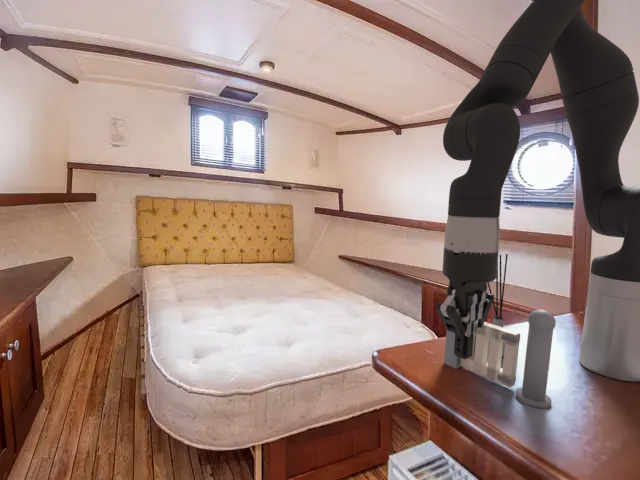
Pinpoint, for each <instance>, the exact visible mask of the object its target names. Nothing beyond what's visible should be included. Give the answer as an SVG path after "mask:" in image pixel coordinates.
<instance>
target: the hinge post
mask: <svg viewBox="0 0 640 480" xmlns="http://www.w3.org/2000/svg"><path fill="white" fill-rule="evenodd" d="M527 321H528V333H527V341H526V348H525V349H526V350H525V351H526V352H525V358H524V359H525V360H524V368H523V369H524V370H523V379H522V387H518V388H516V389H515V395H514V396H515V397H516V399H517V400H518V401H519V402H521V403H522V404H525V405H526V406H529V407H532V408H534V409H542V410H545V409H549V408H551V406H552V402H553V401H552V399H551V397H550V396H549V395H548V394H546V393H547V386H548V385H547V384H548V377H549V369H550V361H551V352H552V343H553V342H552V341H553V336H554V335H553V334H554V329H555V327H556V323H557V322H556V318H555V317H554V315H553V314H552V312H550V311H547V310H546V309H535V310H533V311H531V312H530V314H529V315H528V318H527Z"/></svg>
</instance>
